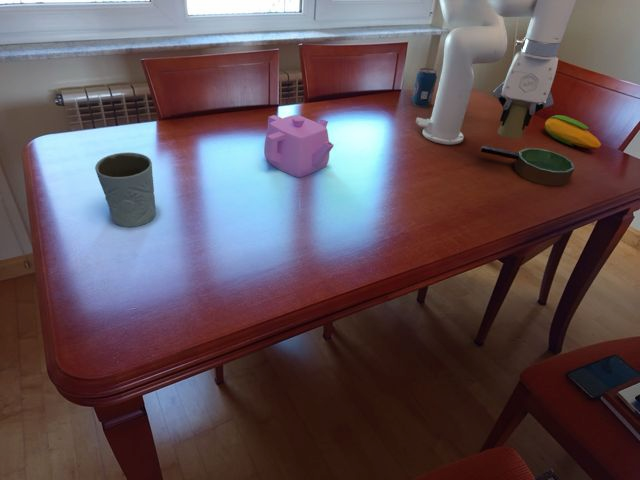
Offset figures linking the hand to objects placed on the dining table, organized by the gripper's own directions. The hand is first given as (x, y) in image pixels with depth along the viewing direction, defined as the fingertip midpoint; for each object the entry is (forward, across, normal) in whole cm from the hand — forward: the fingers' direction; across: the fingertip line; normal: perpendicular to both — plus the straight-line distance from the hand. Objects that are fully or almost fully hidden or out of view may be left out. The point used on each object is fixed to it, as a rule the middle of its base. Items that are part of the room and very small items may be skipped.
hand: (512, 125), depth 109 cm
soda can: (+14, -29, +45) cm, 56 cm away
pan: (+14, +7, +8) cm, 18 cm away
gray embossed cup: (+14, -70, -59) cm, 92 cm away
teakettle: (+14, -49, -20) cm, 55 cm away
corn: (+14, +21, +36) cm, 44 cm away
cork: (+2, 0, 0) cm, 2 cm away
